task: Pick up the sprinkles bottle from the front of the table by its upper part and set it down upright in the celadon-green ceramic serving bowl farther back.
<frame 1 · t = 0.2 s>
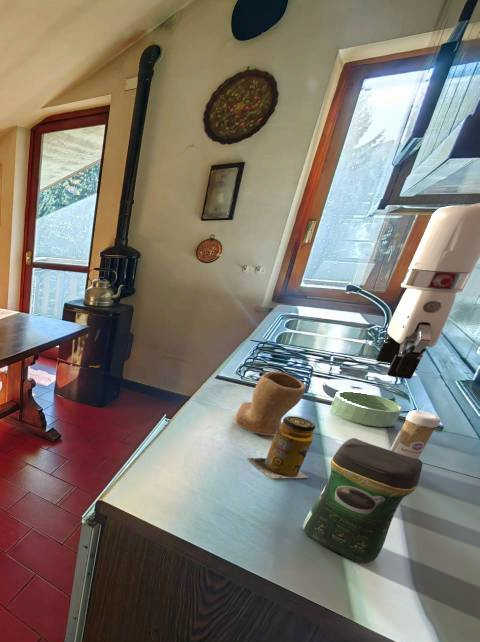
hand: (391, 369, 77), 24 cm above the counter, tool pointing down, fingers open, 9 cm apart
sprinkles bottle: (396, 468, 86), on the counter
bowl: (360, 416, 108), on the counter
condiment: (275, 469, 86), on the counter
brown boot planter: (260, 426, 103), on the counter
coffee jar: (336, 542, 67), on the counter
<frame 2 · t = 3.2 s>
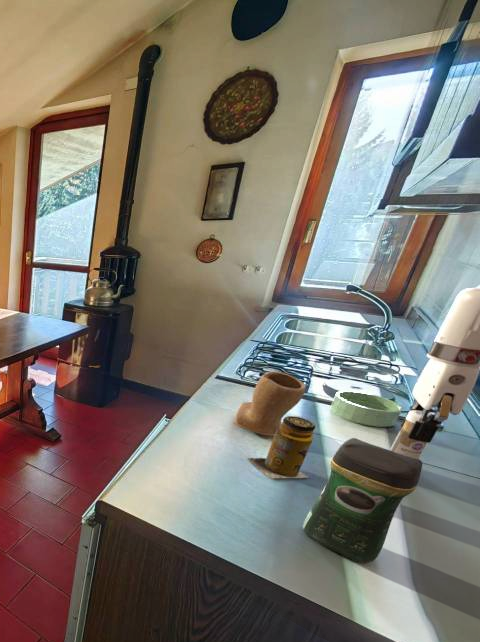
hand: (414, 433, 83), 9 cm above the counter, tool pointing down, fingers closed on sprinkles bottle, 4 cm apart
sprinkles bottle: (396, 468, 86), on the counter, touching gripper
everything else where it was.
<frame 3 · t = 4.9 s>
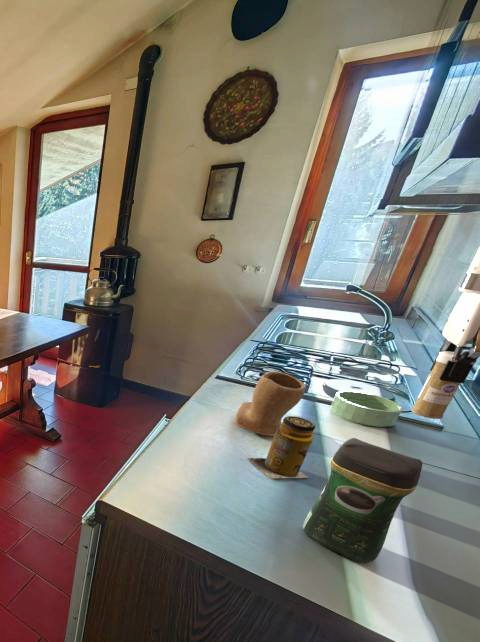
hand: (446, 376, 78), 22 cm above the counter, tool pointing down, fingers closed on sprinkles bottle, 4 cm apart
sprinkles bottle: (425, 415, 82), point 13 cm above the counter, touching gripper
everything else where it was.
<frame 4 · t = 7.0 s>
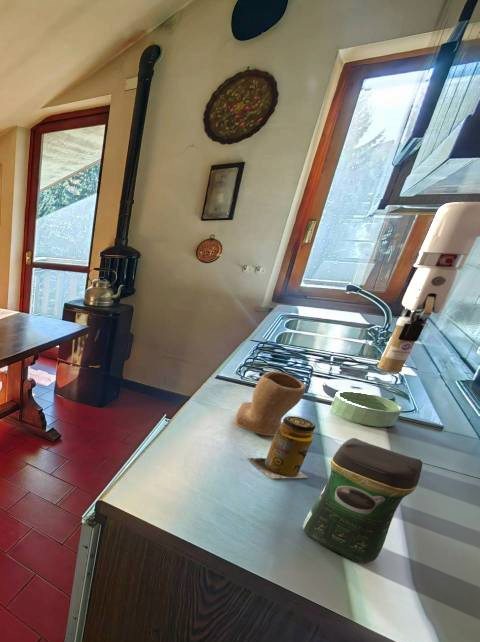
hand: (404, 337, 96), 24 cm above the counter, tool pointing down, fingers closed on sprinkles bottle, 4 cm apart
sprinkles bottle: (388, 370, 100), point 15 cm above the counter, touching gripper
everything else where it was.
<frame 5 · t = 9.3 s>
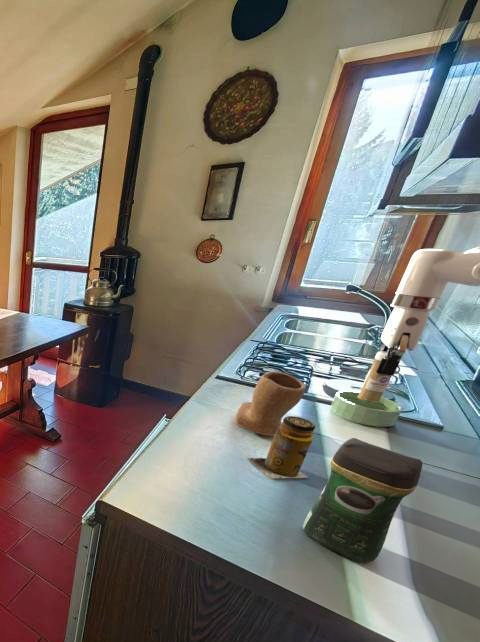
hand: (382, 370, 103), 14 cm above the counter, tool pointing down, fingers closed on sprinkles bottle, 4 cm apart
sprinkles bottle: (367, 400, 106), point 5 cm above the counter, touching gripper
everything else where it was.
when the fingers open (9 cm above the counter, at t = 10.8 s): sprinkles bottle stays where it is, resting on bowl.
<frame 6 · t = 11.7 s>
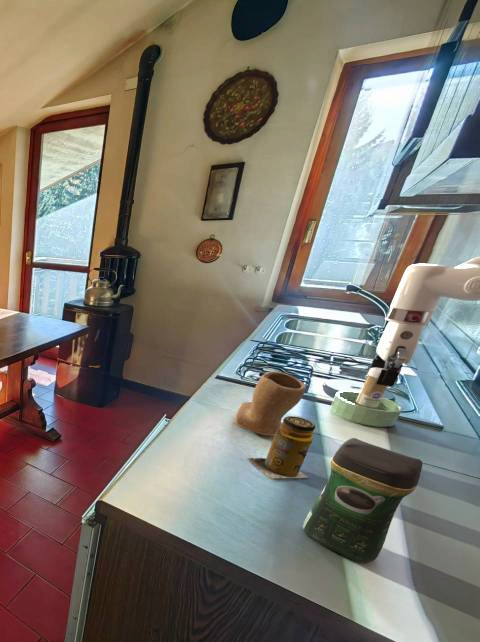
hand: (379, 379, 104), 11 cm above the counter, tool pointing down, fingers open, 9 cm apart
sprinkles bottle: (361, 415, 108), resting on bowl
everything else where it was.
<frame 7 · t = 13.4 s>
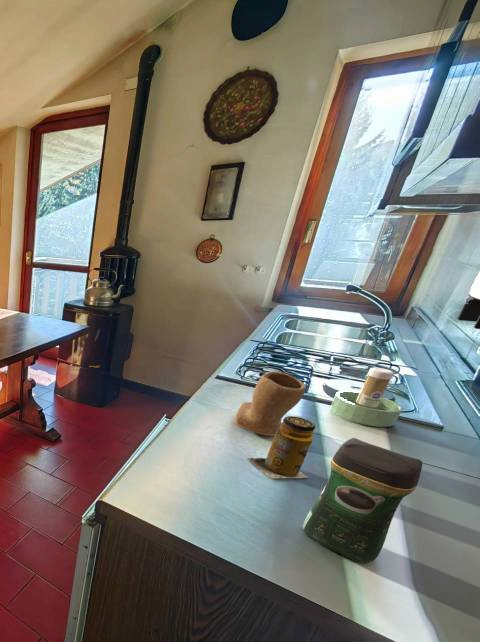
hand: (475, 324, 92), 28 cm above the counter, tool pointing down, fingers open, 9 cm apart
nothing on the counter moved.
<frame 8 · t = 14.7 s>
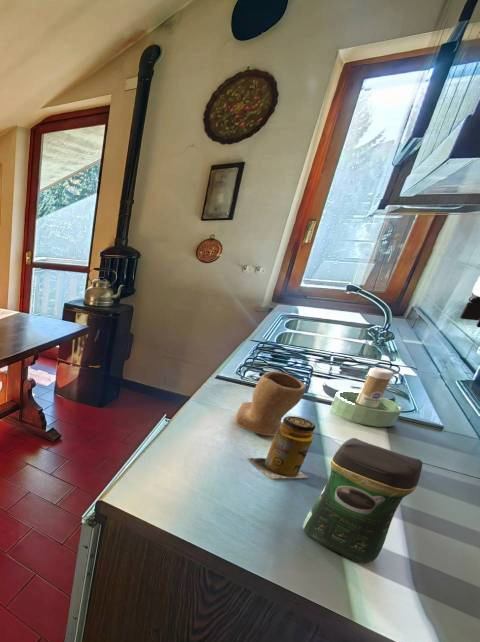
hand: (477, 323, 92), 28 cm above the counter, tool pointing down, fingers open, 9 cm apart
nothing on the counter moved.
at the end: sprinkles bottle inside the target area in the bowl (0.0 cm from its centre), point 0.4 cm above the bowl's base; sprinkles bottle tilted 0°; the gripper is holding nothing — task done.
